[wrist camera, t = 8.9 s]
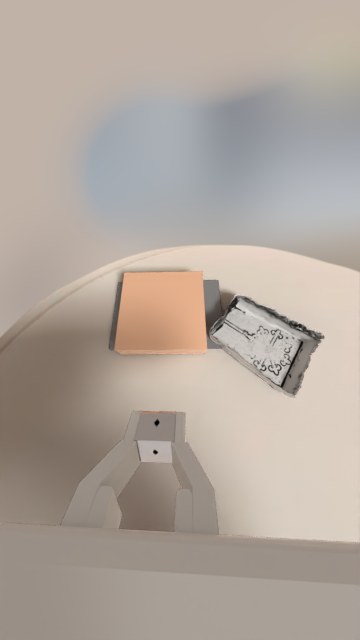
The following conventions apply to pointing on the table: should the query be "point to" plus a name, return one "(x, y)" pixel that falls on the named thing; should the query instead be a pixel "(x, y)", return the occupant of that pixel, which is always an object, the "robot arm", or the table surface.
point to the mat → (210, 303)
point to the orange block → (162, 314)
